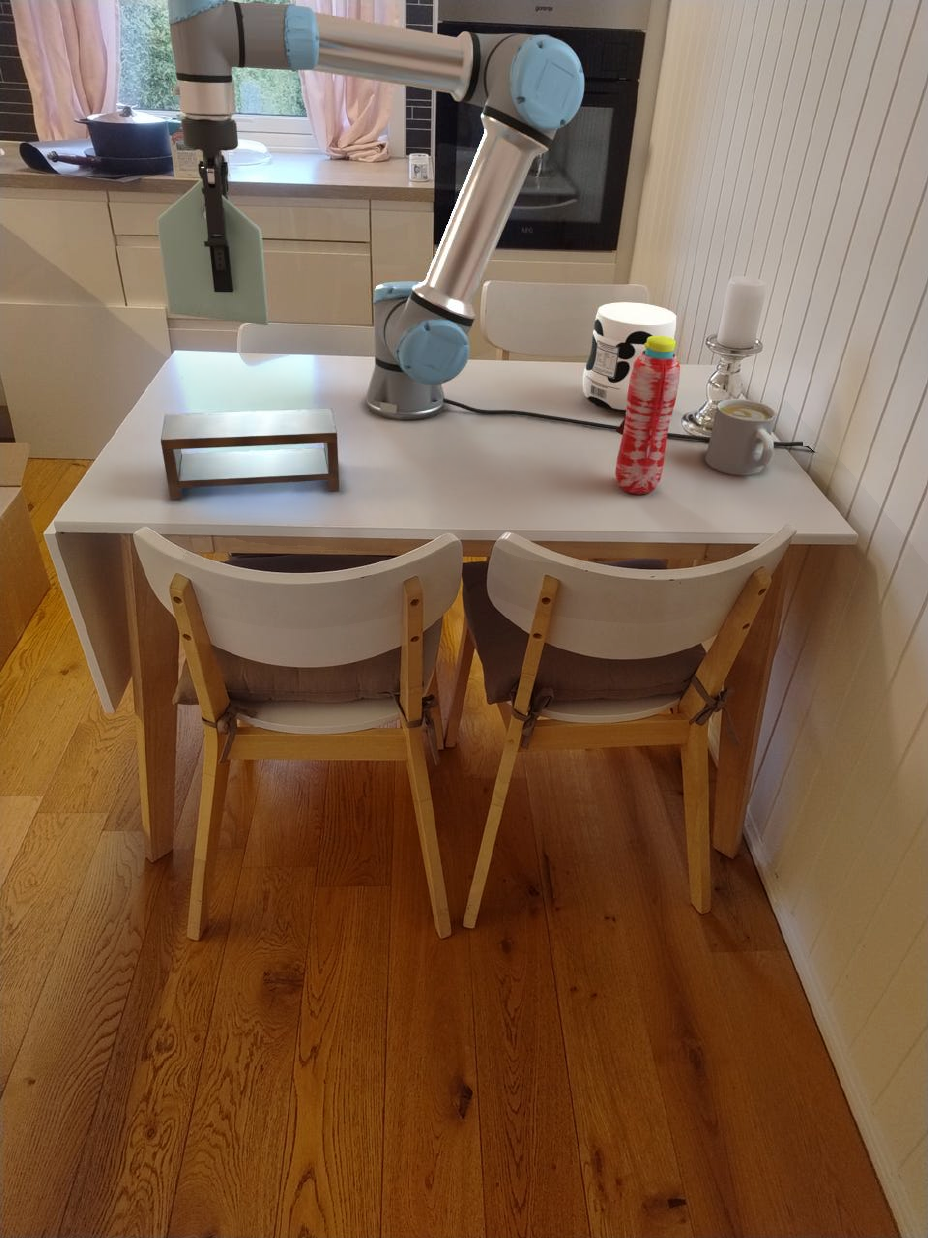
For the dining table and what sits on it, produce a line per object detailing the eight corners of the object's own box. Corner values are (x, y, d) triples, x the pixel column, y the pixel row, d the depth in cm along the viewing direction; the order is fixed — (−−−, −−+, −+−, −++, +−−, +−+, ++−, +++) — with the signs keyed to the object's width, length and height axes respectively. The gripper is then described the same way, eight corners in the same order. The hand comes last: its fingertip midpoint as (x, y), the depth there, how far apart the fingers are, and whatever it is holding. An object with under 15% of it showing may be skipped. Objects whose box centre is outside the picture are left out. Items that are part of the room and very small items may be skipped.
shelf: (334, 464, 148) (331, 408, 142) (339, 491, 140) (337, 432, 134) (174, 472, 143) (165, 414, 137) (170, 500, 135) (160, 439, 129)
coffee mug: (697, 451, 159) (708, 398, 153) (749, 451, 160) (762, 398, 154) (724, 484, 148) (737, 429, 142) (779, 483, 149) (795, 428, 143)
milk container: (665, 393, 183) (681, 305, 172) (666, 424, 169) (684, 330, 158) (582, 384, 185) (593, 296, 174) (577, 414, 171) (588, 321, 160)
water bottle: (605, 467, 152) (627, 321, 137) (650, 469, 152) (677, 323, 137) (615, 499, 142) (639, 345, 127) (664, 501, 142) (694, 348, 128)
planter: (286, 311, 140) (277, 175, 129) (267, 325, 134) (256, 183, 123) (191, 300, 143) (175, 165, 131) (168, 313, 136) (149, 173, 125)
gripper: (186, 107, 130) (204, 266, 143) (173, 123, 113) (195, 302, 126) (238, 109, 132) (251, 266, 145) (232, 126, 114) (248, 303, 127)
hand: (225, 283), depth 135 cm, fingers closed on planter, 9 cm apart
